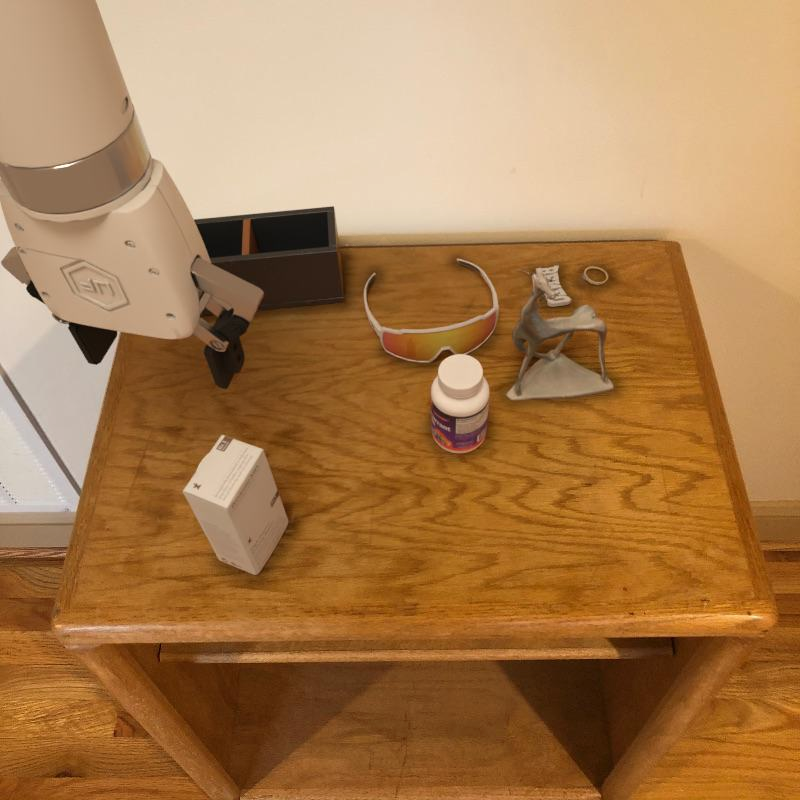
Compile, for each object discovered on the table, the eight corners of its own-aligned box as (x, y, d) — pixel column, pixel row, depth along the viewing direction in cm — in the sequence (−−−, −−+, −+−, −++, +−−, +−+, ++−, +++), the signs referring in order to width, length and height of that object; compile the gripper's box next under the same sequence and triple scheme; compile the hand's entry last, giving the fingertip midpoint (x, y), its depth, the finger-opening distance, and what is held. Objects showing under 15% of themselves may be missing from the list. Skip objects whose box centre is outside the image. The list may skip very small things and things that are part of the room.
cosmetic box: (259, 578, 69) (228, 512, 59) (215, 560, 70) (178, 493, 60) (291, 519, 72) (268, 448, 62) (249, 503, 73) (219, 431, 63)
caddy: (173, 318, 88) (152, 268, 81) (178, 273, 92) (159, 222, 86) (344, 302, 88) (336, 250, 82) (341, 258, 92) (334, 205, 86)
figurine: (605, 347, 82) (632, 240, 70) (615, 397, 79) (646, 292, 66) (501, 351, 83) (510, 245, 71) (506, 400, 79) (517, 296, 67)
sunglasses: (379, 378, 81) (375, 342, 77) (358, 292, 92) (353, 256, 88) (512, 354, 82) (513, 317, 79) (475, 271, 93) (475, 236, 89)
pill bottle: (423, 420, 78) (420, 358, 70) (472, 403, 79) (475, 340, 71) (444, 463, 75) (444, 403, 67) (495, 444, 76) (501, 383, 68)
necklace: (556, 265, 90) (514, 270, 89) (557, 261, 89) (515, 266, 89) (573, 307, 86) (528, 312, 85) (574, 303, 85) (529, 308, 85)
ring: (613, 278, 87) (589, 282, 87) (610, 284, 88) (587, 289, 87) (602, 262, 89) (578, 266, 88) (600, 268, 90) (576, 272, 89)
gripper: (-112, 178, 40) (30, 381, 54) (196, 223, 37) (263, 426, 51) (-30, 95, 45) (82, 303, 58) (253, 130, 41) (300, 341, 55)
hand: (166, 360), depth 55 cm, fingers open, 9 cm apart
